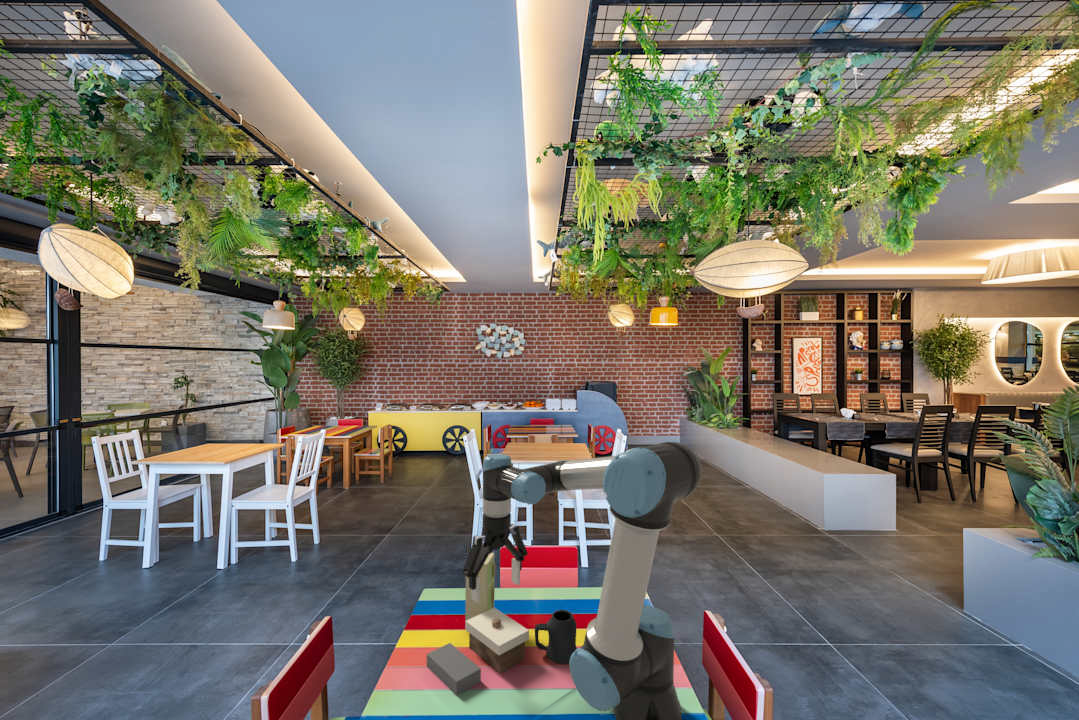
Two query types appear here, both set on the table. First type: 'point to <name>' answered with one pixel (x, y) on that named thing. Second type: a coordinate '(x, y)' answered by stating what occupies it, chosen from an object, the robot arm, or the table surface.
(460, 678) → the block
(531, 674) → the table surface
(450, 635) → the table surface
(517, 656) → the box
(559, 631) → the mug
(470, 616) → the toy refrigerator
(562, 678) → the table surface
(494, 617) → the lid
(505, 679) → the table surface
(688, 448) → the robot arm
